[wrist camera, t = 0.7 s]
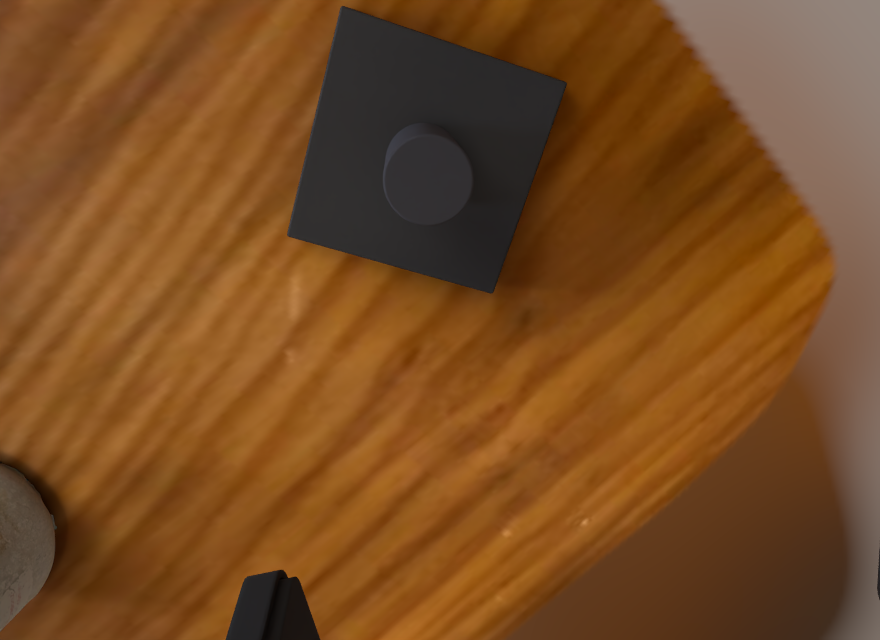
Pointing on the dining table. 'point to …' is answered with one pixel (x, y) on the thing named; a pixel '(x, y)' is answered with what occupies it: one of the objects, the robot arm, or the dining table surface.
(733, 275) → the dining table surface
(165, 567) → the dining table surface
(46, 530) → the bottle
